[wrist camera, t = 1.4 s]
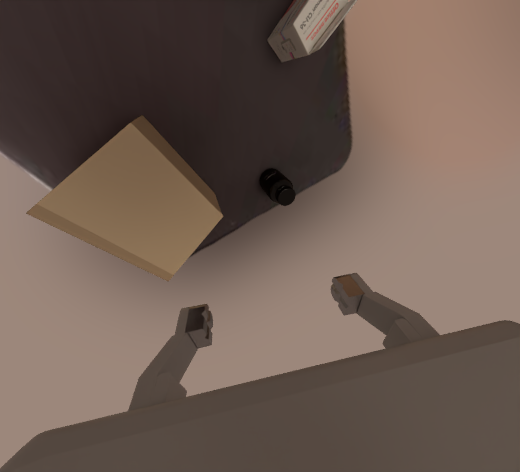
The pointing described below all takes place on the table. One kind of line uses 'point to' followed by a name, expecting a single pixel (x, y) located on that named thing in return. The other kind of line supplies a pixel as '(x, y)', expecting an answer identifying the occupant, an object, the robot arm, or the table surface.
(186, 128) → the table surface
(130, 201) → the flap
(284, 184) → the supplement bottle
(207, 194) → the carton
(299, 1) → the ink cartridge box
